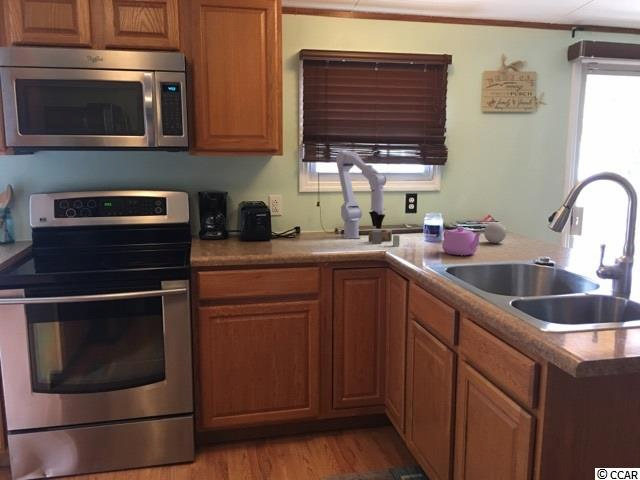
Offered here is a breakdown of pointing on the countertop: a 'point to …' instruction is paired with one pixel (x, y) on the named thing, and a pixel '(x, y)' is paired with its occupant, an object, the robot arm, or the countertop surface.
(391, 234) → the hinge post
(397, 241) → the stop wall
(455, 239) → the teapot
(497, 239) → the ball
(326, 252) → the countertop surface
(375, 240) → the block
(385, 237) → the door
